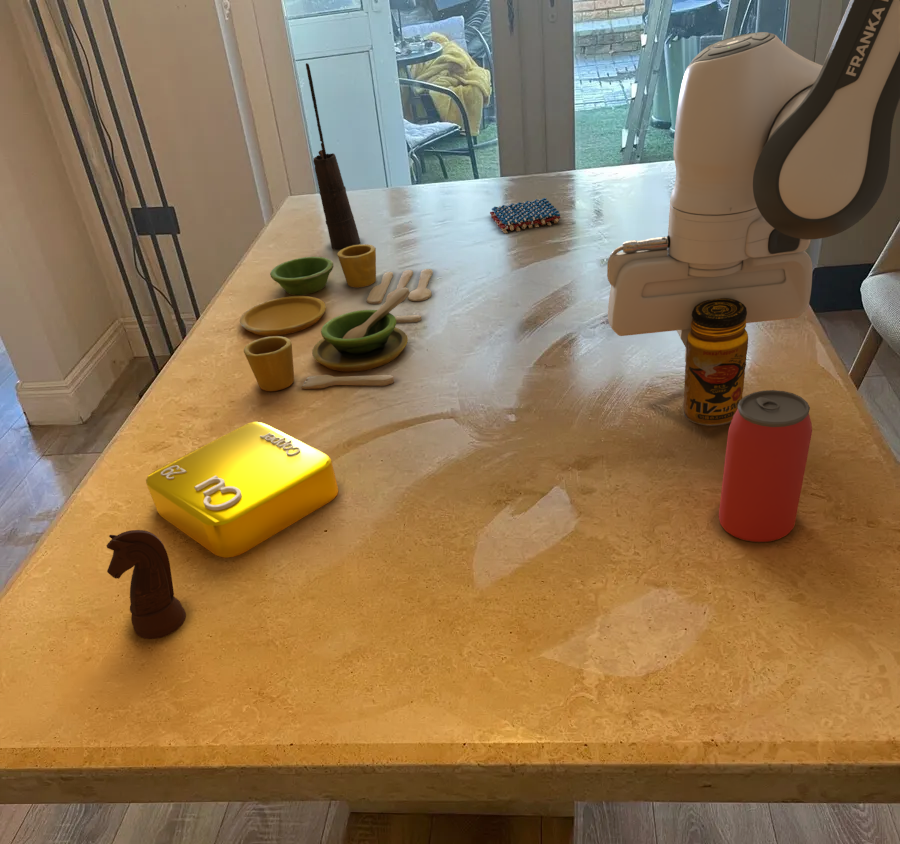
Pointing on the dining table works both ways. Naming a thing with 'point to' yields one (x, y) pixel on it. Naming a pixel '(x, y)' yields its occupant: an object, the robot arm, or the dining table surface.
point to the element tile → (242, 488)
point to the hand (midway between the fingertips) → (700, 362)
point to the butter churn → (333, 193)
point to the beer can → (765, 465)
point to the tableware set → (330, 322)
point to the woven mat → (524, 215)
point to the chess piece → (147, 583)
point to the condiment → (715, 361)
